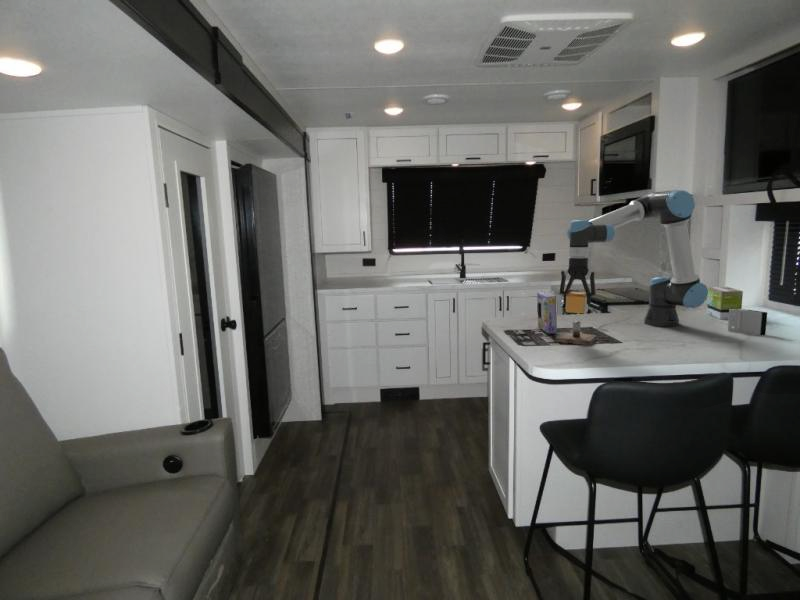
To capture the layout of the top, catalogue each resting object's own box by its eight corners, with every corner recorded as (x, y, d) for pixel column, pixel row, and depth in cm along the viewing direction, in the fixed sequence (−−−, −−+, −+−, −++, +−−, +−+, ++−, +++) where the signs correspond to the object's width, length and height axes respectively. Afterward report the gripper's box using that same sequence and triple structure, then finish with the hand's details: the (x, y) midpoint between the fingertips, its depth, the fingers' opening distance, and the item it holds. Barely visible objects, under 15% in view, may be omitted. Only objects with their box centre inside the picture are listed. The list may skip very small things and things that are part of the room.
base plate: (596, 339, 213) (596, 335, 213) (589, 345, 204) (589, 341, 203) (563, 336, 221) (563, 332, 221) (555, 342, 211) (555, 337, 211)
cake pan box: (536, 325, 245) (536, 290, 242) (546, 325, 245) (546, 290, 242) (546, 334, 226) (546, 296, 223) (557, 334, 226) (558, 296, 223)
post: (580, 336, 212) (581, 321, 211) (579, 337, 210) (579, 322, 209) (573, 335, 214) (574, 320, 213) (571, 336, 212) (572, 321, 211)
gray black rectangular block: (726, 331, 223) (728, 309, 222) (731, 329, 226) (733, 307, 225) (763, 336, 212) (765, 313, 211) (767, 334, 215) (769, 311, 214)
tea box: (705, 314, 262) (707, 286, 260) (726, 314, 261) (728, 286, 258) (719, 319, 247) (722, 290, 245) (741, 319, 246) (744, 290, 244)
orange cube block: (587, 310, 211) (587, 292, 210) (583, 313, 206) (583, 294, 204) (570, 309, 215) (571, 291, 214) (566, 312, 209) (566, 293, 208)
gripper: (552, 257, 209) (550, 310, 213) (601, 258, 198) (599, 314, 202) (557, 256, 215) (555, 307, 219) (605, 257, 204) (603, 311, 208)
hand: (576, 310), depth 210 cm, fingers closed on orange cube block, 7 cm apart
